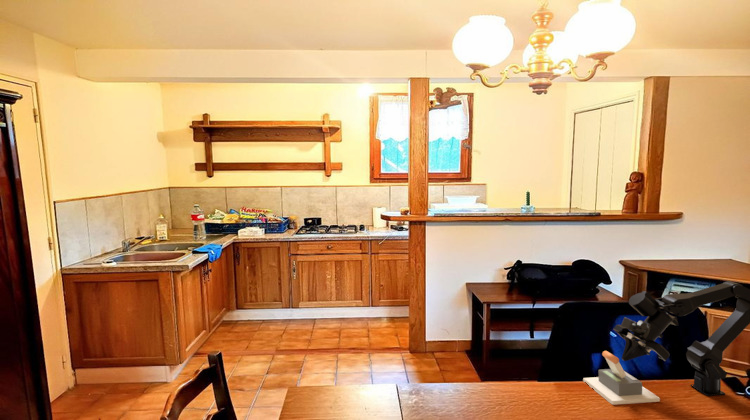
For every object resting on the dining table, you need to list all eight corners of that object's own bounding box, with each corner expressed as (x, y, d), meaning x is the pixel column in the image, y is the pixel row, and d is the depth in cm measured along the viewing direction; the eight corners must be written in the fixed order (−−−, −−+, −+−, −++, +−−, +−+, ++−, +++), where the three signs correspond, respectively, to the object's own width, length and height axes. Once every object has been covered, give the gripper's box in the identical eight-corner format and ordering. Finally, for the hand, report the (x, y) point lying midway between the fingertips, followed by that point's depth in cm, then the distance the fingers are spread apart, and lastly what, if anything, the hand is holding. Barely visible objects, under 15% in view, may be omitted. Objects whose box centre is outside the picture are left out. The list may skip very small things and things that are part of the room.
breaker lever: (616, 368, 132) (606, 349, 131) (627, 376, 127) (617, 356, 126) (611, 372, 132) (601, 352, 131) (622, 379, 127) (611, 359, 126)
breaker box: (625, 378, 138) (625, 363, 138) (659, 401, 123) (660, 385, 123) (583, 381, 137) (583, 366, 136) (612, 404, 122) (612, 388, 121)
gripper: (618, 302, 138) (589, 334, 138) (660, 319, 119) (627, 356, 119) (638, 322, 139) (610, 354, 139) (684, 342, 121) (651, 379, 120)
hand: (623, 359), depth 129 cm, fingers closed
